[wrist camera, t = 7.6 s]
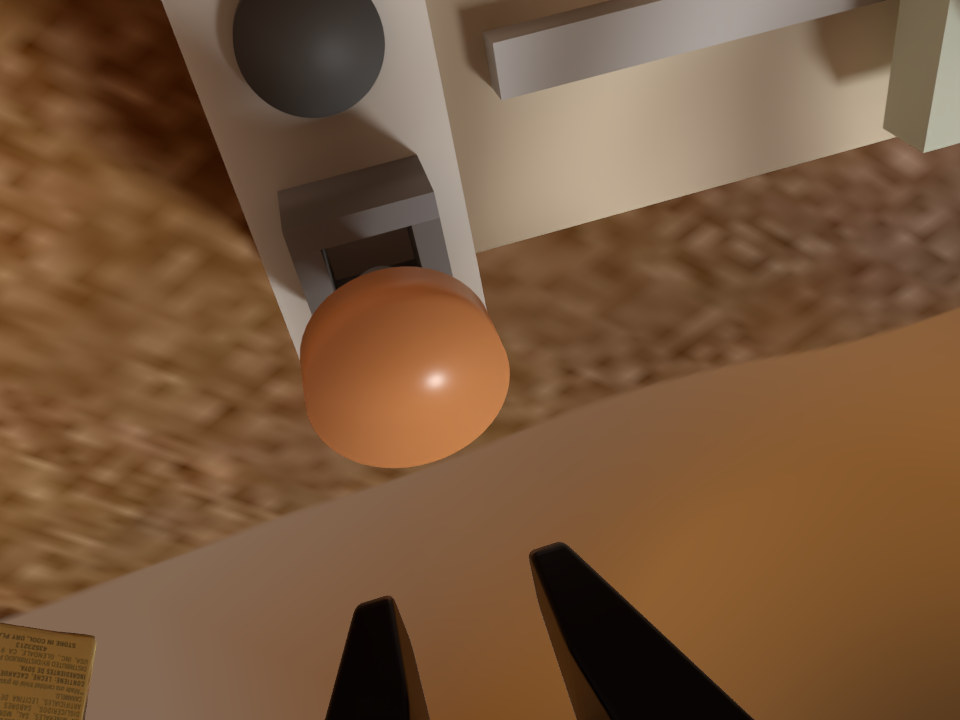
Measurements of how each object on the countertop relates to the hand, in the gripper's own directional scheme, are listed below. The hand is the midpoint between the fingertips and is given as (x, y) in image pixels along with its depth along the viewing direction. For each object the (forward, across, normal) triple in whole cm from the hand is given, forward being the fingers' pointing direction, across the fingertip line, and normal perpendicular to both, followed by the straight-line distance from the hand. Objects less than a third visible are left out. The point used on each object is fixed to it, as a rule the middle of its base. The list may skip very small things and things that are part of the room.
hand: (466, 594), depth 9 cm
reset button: (+7, 0, 0) cm, 7 cm away
